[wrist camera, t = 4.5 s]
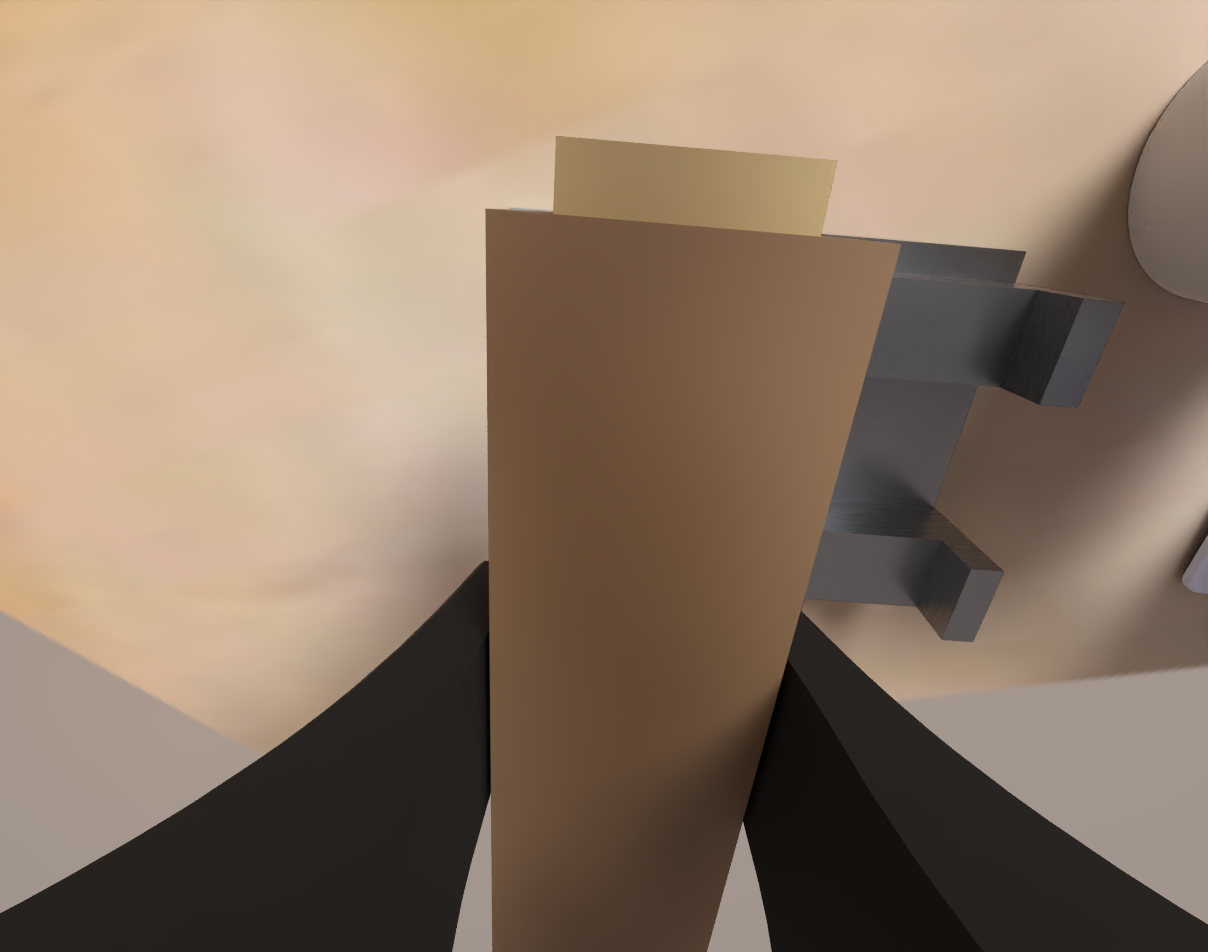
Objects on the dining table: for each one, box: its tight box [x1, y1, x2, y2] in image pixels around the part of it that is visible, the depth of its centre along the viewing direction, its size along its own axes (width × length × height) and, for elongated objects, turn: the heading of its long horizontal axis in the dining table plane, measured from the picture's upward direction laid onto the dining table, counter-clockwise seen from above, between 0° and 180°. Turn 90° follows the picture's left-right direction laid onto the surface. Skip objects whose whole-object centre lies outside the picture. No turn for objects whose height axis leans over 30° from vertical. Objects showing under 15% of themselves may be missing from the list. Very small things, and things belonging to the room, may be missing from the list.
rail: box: [486, 136, 901, 952], centre depth 9 cm, size 3×13×3 cm, turn 176°
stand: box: [801, 234, 1124, 642], centre depth 16 cm, size 6×11×4 cm, turn 176°
